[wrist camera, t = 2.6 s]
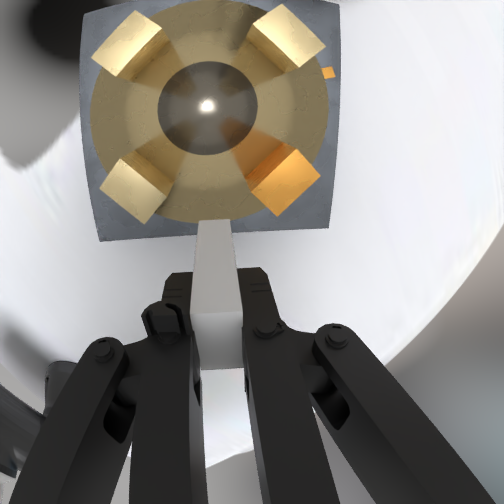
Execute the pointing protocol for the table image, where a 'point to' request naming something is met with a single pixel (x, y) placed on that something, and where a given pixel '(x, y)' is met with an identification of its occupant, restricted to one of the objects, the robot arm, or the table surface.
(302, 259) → the table surface
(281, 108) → the lathe chuck
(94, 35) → the housing
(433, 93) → the table surface
